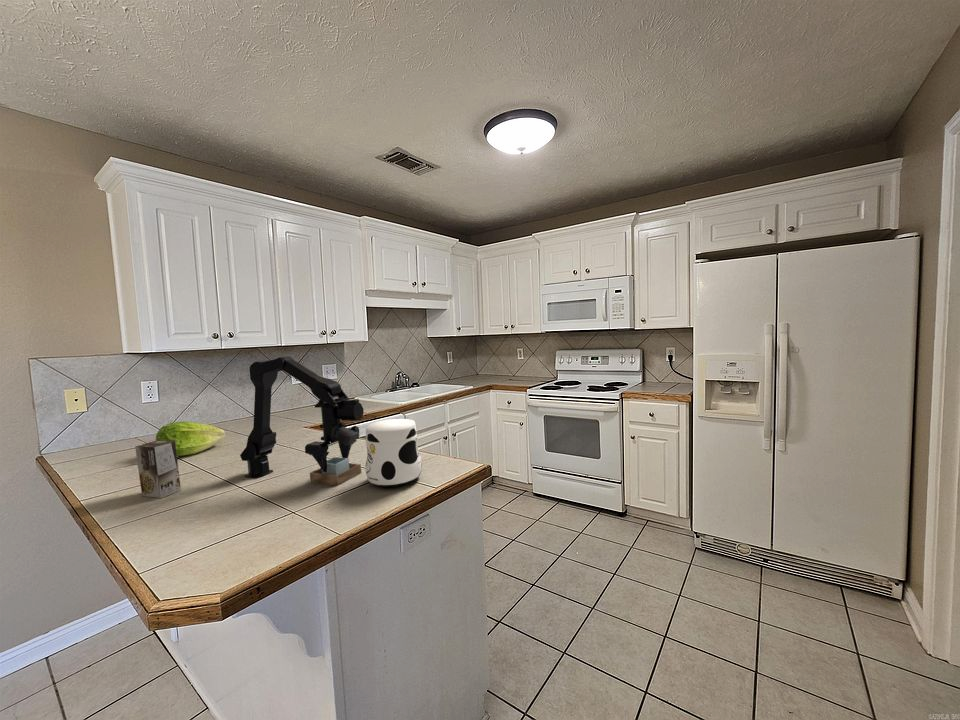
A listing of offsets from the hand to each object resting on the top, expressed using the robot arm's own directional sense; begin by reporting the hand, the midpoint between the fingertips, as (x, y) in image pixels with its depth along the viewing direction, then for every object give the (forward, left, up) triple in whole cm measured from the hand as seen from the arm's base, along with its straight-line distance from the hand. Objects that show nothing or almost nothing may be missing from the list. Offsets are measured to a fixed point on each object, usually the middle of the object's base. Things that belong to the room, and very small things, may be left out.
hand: (335, 467), depth 131 cm
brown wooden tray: (0, 0, -4) cm, 4 cm away
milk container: (+21, +3, -4) cm, 22 cm away
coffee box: (-47, -26, -4) cm, 54 cm away
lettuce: (-85, +7, -4) cm, 85 cm away
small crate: (0, 0, -3) cm, 3 cm away
